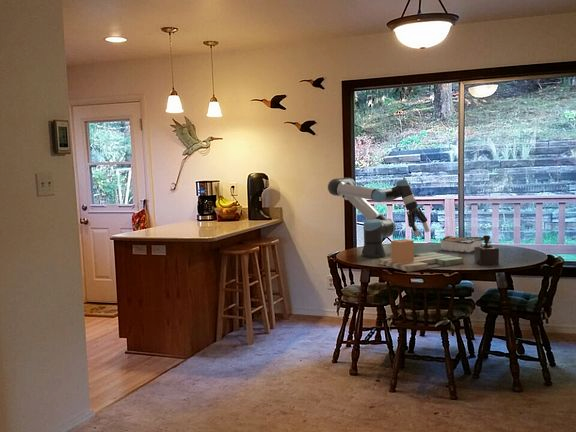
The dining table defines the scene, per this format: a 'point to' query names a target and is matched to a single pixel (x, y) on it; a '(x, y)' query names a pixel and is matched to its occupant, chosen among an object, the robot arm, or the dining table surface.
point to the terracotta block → (402, 251)
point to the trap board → (423, 261)
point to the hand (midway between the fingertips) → (422, 233)
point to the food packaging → (461, 243)
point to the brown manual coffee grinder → (486, 253)
